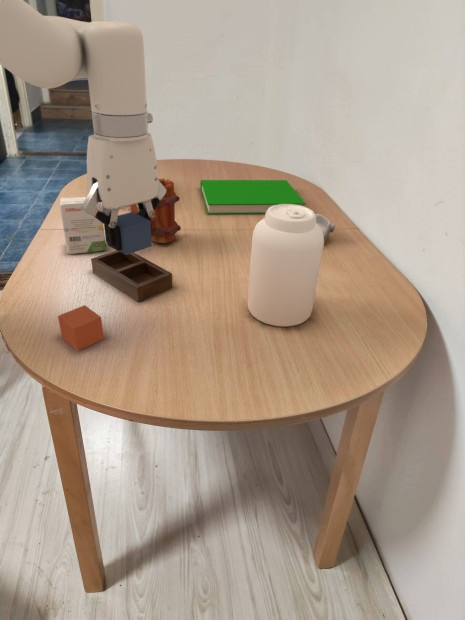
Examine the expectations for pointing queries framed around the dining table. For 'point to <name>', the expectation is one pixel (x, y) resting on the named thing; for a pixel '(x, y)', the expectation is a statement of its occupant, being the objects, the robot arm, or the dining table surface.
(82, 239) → the ink box
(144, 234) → the cube blue
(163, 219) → the mug
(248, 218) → the dining table surface
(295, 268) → the can
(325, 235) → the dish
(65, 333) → the orange block
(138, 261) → the dark wooden tray
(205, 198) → the book
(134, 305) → the dining table surface
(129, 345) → the dining table surface
